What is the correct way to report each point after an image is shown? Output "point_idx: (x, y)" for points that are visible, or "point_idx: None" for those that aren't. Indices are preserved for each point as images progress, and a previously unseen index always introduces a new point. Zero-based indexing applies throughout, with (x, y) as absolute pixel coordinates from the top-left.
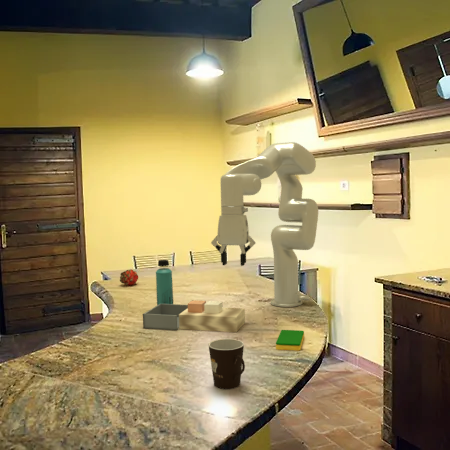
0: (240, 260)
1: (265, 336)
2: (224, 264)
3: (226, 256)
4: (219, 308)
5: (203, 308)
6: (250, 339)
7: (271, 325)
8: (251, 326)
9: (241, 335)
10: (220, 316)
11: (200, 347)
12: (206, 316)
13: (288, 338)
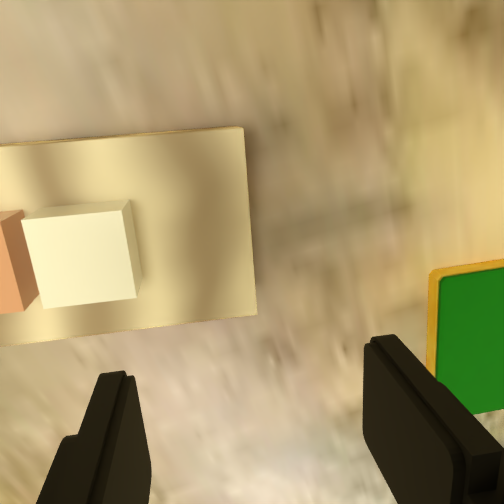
0: (390, 489)
1: (371, 299)
2: (150, 478)
3: (117, 471)
4: (137, 269)
5: (28, 263)
6: (325, 347)
7: (370, 141)
8: (284, 183)
9: (279, 315)
10: (175, 322)
11: (186, 469)
12: (101, 333)
13: (473, 371)
